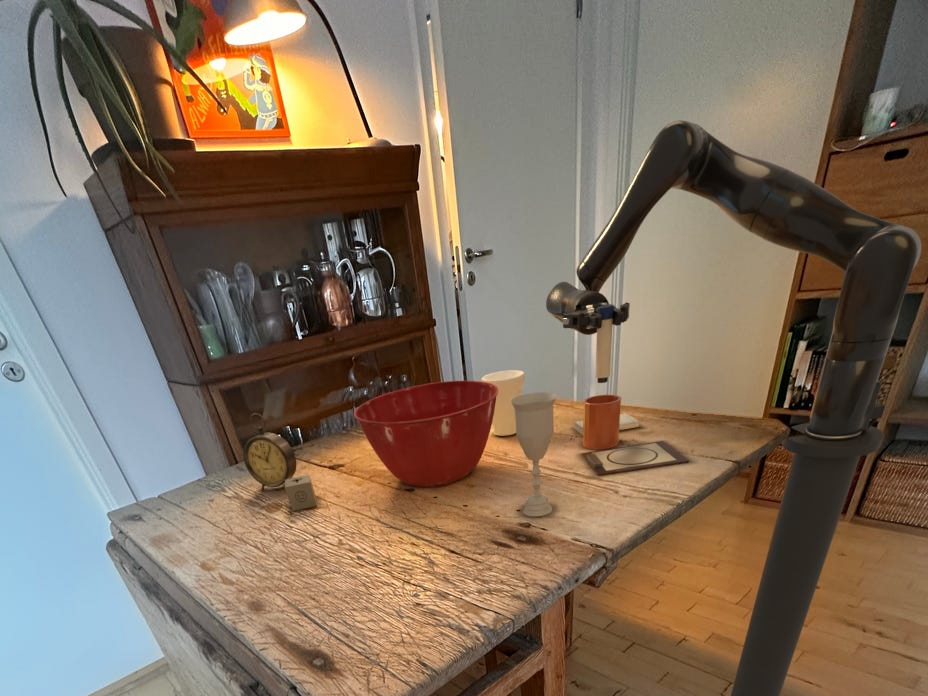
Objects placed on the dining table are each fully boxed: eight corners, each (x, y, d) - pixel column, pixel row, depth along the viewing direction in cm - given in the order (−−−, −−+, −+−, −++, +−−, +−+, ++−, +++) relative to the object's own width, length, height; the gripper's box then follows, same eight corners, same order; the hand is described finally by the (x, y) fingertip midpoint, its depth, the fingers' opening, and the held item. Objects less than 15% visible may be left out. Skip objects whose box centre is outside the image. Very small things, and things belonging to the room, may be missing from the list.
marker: (607, 379, 105) (611, 304, 98) (612, 382, 103) (616, 305, 95) (593, 381, 106) (595, 306, 98) (597, 384, 103) (599, 308, 95)
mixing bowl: (481, 503, 95) (472, 415, 85) (347, 502, 105) (326, 423, 95) (518, 451, 115) (513, 375, 106) (403, 454, 125) (390, 385, 116)
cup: (532, 426, 129) (529, 368, 121) (520, 439, 122) (516, 379, 114) (494, 427, 133) (490, 371, 125) (480, 440, 126) (475, 381, 118)
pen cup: (612, 436, 114) (614, 392, 109) (623, 446, 108) (625, 400, 103) (579, 441, 115) (579, 398, 109) (587, 451, 109) (588, 406, 103)
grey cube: (316, 497, 110) (309, 474, 107) (316, 505, 106) (309, 482, 103) (292, 502, 109) (285, 479, 106) (292, 511, 105) (284, 487, 102)
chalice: (562, 515, 86) (561, 400, 75) (521, 521, 86) (515, 407, 75) (552, 499, 92) (550, 390, 81) (514, 505, 92) (507, 397, 81)
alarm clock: (254, 493, 118) (226, 418, 108) (266, 484, 122) (241, 411, 112) (296, 491, 114) (271, 414, 105) (307, 482, 118) (284, 407, 109)
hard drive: (585, 430, 115) (639, 420, 116) (573, 421, 122) (624, 411, 122) (585, 437, 116) (638, 427, 117) (573, 428, 123) (624, 419, 123)
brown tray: (662, 442, 107) (663, 437, 106) (688, 462, 97) (689, 456, 96) (580, 454, 108) (580, 449, 107) (597, 475, 97) (597, 470, 97)
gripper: (552, 296, 107) (571, 302, 93) (620, 285, 107) (650, 289, 93) (553, 337, 112) (571, 349, 98) (618, 327, 111) (646, 337, 97)
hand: (609, 320), depth 95 cm, fingers closed on marker, 3 cm apart
